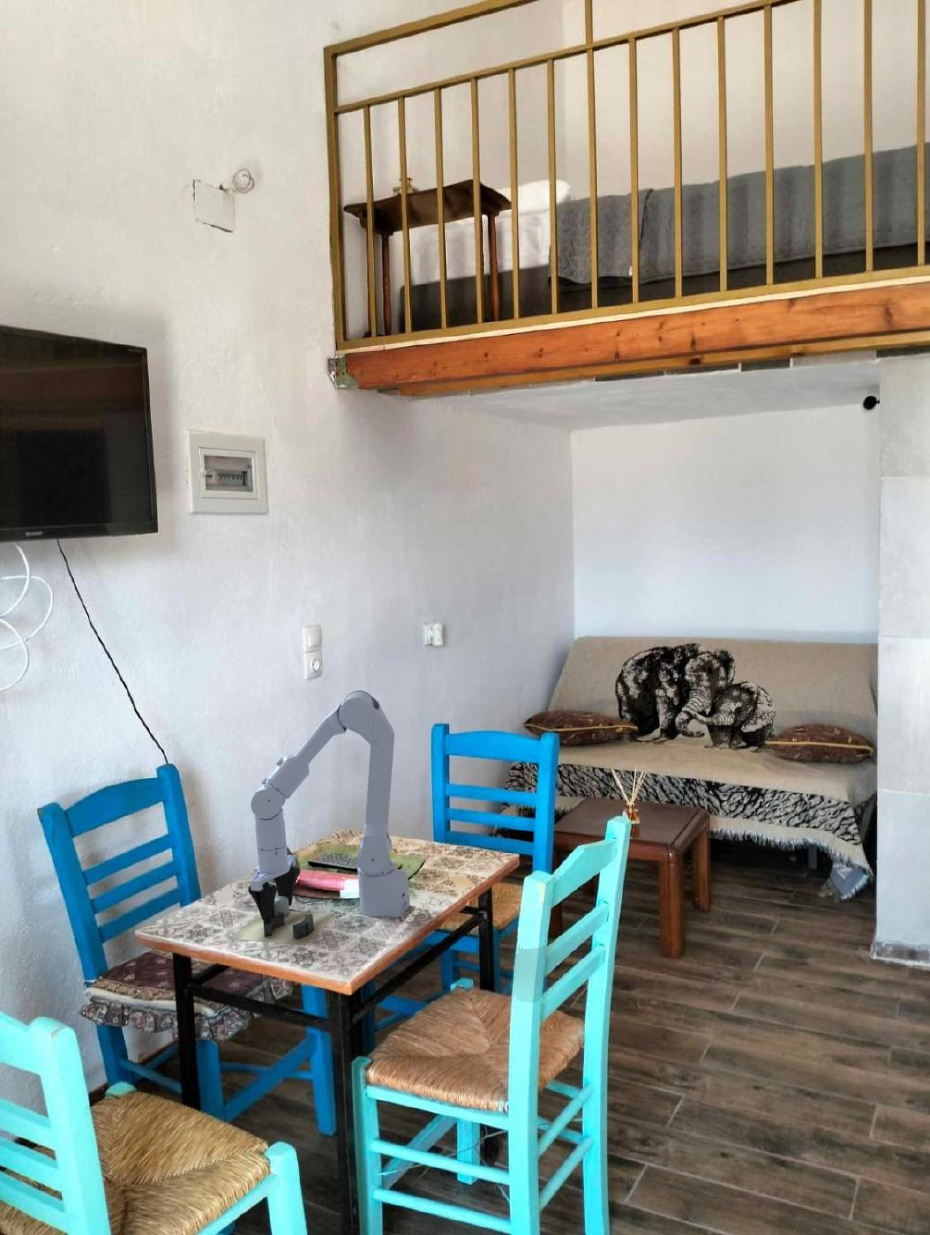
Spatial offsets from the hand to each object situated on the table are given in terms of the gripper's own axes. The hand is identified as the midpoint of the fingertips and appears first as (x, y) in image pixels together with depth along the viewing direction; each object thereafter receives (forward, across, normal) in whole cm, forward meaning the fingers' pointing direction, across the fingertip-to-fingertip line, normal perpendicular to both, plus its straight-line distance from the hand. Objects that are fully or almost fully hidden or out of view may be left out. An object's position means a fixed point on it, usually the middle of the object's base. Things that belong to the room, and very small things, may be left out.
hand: (277, 912), depth 196 cm
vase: (+2, -16, -7) cm, 18 cm away
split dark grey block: (+1, +6, +6) cm, 9 cm away
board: (+1, +4, +4) cm, 6 cm away
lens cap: (+1, 0, 0) cm, 1 cm away
